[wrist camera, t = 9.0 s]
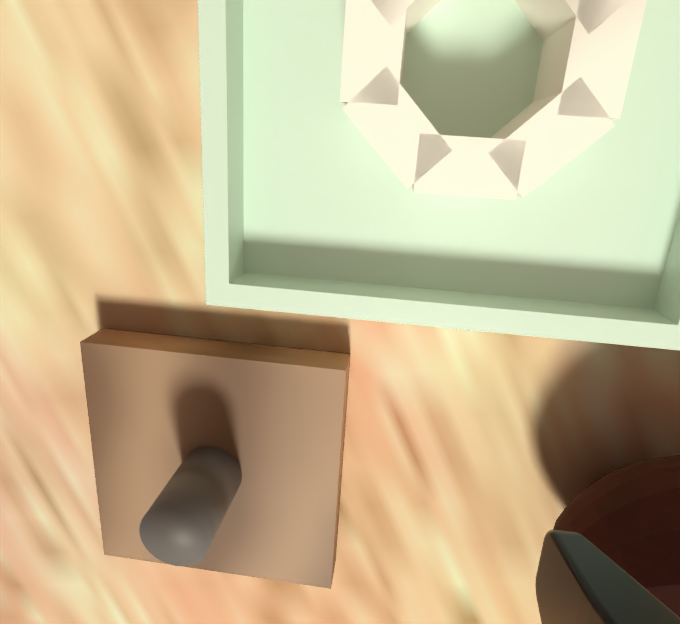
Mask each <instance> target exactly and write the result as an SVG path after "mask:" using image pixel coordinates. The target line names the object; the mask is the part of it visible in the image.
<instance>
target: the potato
mask: <svg viewBox="0 0 680 624" xmlns="http://www.w3.org/2000/svg"><path fill="white" fill-rule="evenodd" d="M553 530H559V531H569V532H576V533H579V534H581V535H583V536H584V537H585V538H587V539H588V540H589V541H590V542H591V543H592V544H594V545H595V546H596V547H597V548H598V549H600V550H601V551H602V552H603V553H604V554H605V555H607V556H608V557H609V558H610V559H611V560H613V561H614V562H615V563H616V564H617V565H618V566H620V567H621V568H622V569H623V570H624V571H626V572H627V573H628V574H629V575H630V576H631V577H633V578H634V579H635V580H636V581H637V582H638V583H640V584H641V585H642V586H643V587H644V588H646V589H647V590H648V591H649V592H650V593H651V594H653V595H654V596H655V597H656V598H657V599H659V600H660V601H661V602H662V603H663V604H664V605H666V606H667V607H668V608H669V609H670V610H671V611H673V612H674V613H675V614H676V615H677V616H679V617H680V455H676V456H669V457H663V458H657V459H651V460H644V461H638V462H632V463H630V464H628V465H625V466H623V467H621V468H619V469H617V470H614V471H612V472H610V473H608V474H606V475H605V476H603V477H602V478H600V479H599V480H597V481H596V482H595V483H593V484H592V485H590V486H589V487H587V488H586V489H584V490H583V491H581V492H580V493H579V494H578V495H577V496H576V497H575V498H574V499H573V500H572V501H570V503H569V504H568V505H567V507H566V508H565V509H564V511H563V512H562V513H561V515H560V516H559V517H558V519H557V520H556V523H555V526H554V529H553Z"/></svg>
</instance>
